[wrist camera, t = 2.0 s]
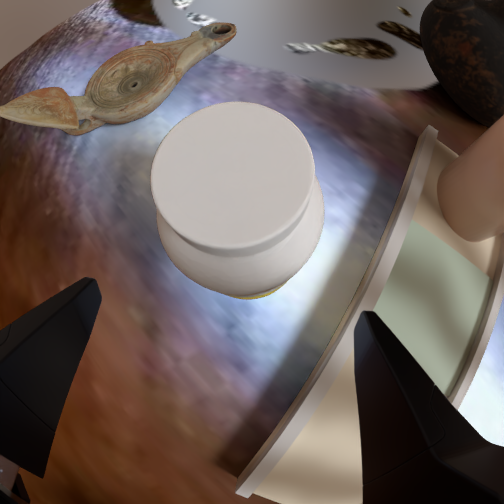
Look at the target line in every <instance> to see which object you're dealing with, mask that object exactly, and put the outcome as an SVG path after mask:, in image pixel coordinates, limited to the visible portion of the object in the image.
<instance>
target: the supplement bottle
mask: <svg viewBox="0 0 504 504" xmlns="http://www.w3.org/2000/svg"><path fill="white" fill-rule="evenodd" d="M150 184H151V192H152V196H153V199H154V202H155V205H156V207H157V226H158V232H159V236H160V239H161V242H162V244H163V247H164V249H165V251H166V253H167V254H168V256H169V258H170V259H171V260H172V262H173V263H174V264H175V266H176V267H177V268H178V269H179V270H180V271H181V272H182V273H183V274H185V275H186V276H187V277H188V278H190V279H191V280H193V281H194V282H196V283H197V284H199V285H201V286H203V287H205V288H208V289H210V290H213V291H216V292H219V293H222V294H225V295H228V296H230V297H234V298H238V299H257V298H262V297H265V296H268V295H270V294H272V293H274V292H275V291H277V290H278V289H279V288H281V287H282V286H283V285H284V284H285V283H286V282H287V281H288V280H289V279H290V278H291V277H293V276H294V275H295V274H296V273H297V272H298V271H299V270H300V269H301V268H302V267H303V266H304V264H305V263H306V262H307V261H308V259H309V258H310V257H311V255H312V253H313V252H314V250H315V248H316V246H317V244H318V242H319V239H320V236H321V233H322V229H323V224H324V200H323V195H322V191H321V187H320V184H319V182H318V180H317V177H316V175H315V165H314V159H313V155H312V151H311V148H310V146H309V144H308V142H307V140H306V138H305V137H304V135H303V134H302V132H301V131H300V130H299V128H298V127H297V126H296V125H295V124H294V123H293V122H292V121H290V120H289V119H288V118H286V117H285V116H284V115H282V114H280V113H279V112H277V111H275V110H273V109H270V108H268V107H265V106H262V105H260V104H255V103H248V102H226V103H219V104H215V105H211V106H208V107H205V108H203V109H200V110H198V111H196V112H194V113H192V114H191V115H189V116H187V117H185V118H184V119H183V120H181V121H180V122H179V123H178V124H176V125H175V126H174V127H173V128H172V129H171V130H170V131H169V133H168V134H167V135H166V136H165V138H164V139H163V140H162V142H161V144H160V145H159V147H158V149H157V152H156V154H155V156H154V159H153V163H152V167H151V175H150Z"/></svg>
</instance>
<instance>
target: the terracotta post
mask: <svg viewBox="0 0 504 504" xmlns="http://www.w3.org/2000/svg"><path fill="white" fill-rule="evenodd" d="M437 197H438V202H439V205H440V209H441V211H442V214H443V216H444V218H445V219H446V221H447V223H448V224H449V226H450V227H451V228H452V230H453V231H454V232H455V233H456V234H457V235H458V236H460V237H461V238H463V239H464V240H466V241H469V242H481V241H483V240H486V239H488V238H491V237H494V236H496V235H499V234H501V233H504V115H503V116H502V117H501V118H500V119H499V120H498V121H496V122H495V123H494V124H493V125H492V126H491V127H490V128H489V129H488V130H487V131H486V132H485V133H484V134H482V135H481V136H480V137H479V138H478V139H477V140H476V141H475V142H474V143H473V144H471V145H470V146H469V147H468V148H467V149H466V150H465V151H464V152H462V153H461V154H460V155H459V156H458V157H457V158H456V159H454V160H453V161H452V162H451V163H450V164H449V165H448V166H446V167H445V168H444V169H443V170H442V171H441V173H440V175H439V177H438V181H437Z"/></svg>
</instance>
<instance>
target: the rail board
mask: <svg viewBox="0 0 504 504" xmlns="http://www.w3.org/2000/svg"><path fill="white" fill-rule="evenodd" d="M437 134H438V131H437V130H436V129H434V128H433V127H431V126H430V125H428V127H427V128H426V129H425V130H424V131H423V133H422V134H421V135H420V136H419V137H418V141H417V144H416V147H415V150H414V153H413V156H412V159H411V162H410V165H409V168H408V171H407V174H406V176H405V179H404V182H403V185H402V187H401V190H400V193H399V195H398V198H397V201H396V203H395V206H394V208H393V211H392V213H391V216H390V218H389V221H388V223H387V226H386V228H385V230H384V233H383V235H382V237H381V240H380V242H379V244H378V247H377V249H376V251H375V253H374V255H373V258H372V260H371V262H370V264H369V266H368V269H367V271H366V273H365V275H364V277H363V279H362V281H361V283H360V285H359V287H358V289H357V291H356V293H355V295H354V297H353V299H352V301H351V303H350V305H349V307H348V309H347V311H346V313H345V315H344V317H343V318H342V320H341V322H340V324H339V326H338V328H337V330H336V331H335V333H334V335H333V337H332V339H331V340H330V342H329V344H328V346H327V347H326V349H325V351H324V353H323V354H322V356H321V358H320V359H319V361H318V363H317V364H316V366H315V368H314V369H313V371H312V373H311V374H310V376H309V378H308V379H307V381H306V382H305V384H304V386H303V387H302V389H301V390H300V392H299V393H298V395H297V397H296V398H295V400H294V401H293V403H292V404H291V406H290V407H289V409H288V410H287V412H286V413H285V415H284V416H283V418H282V419H281V420H280V422H279V423H278V425H277V426H276V428H275V429H274V430H273V432H272V433H271V435H270V436H269V437H268V439H267V440H266V442H265V443H264V444H263V446H262V447H261V448H260V450H259V451H258V452H257V454H256V455H255V456H254V458H253V459H252V460H251V461H250V463H249V464H248V465H247V467H246V468H245V469H244V470H243V472H242V473H241V474H240V475H239V477H238V478H237V484H236V491H235V493H236V494H239V495H241V496H243V497H246V498H249V496H250V495H251V494H252V493H254V494H257V495H259V496H262V497H264V498H267V499H270V500H273V501H275V502H278V503H281V504H363V492H362V486H363V485H362V458H361V441H360V427H359V415H358V405H357V395H356V386H355V376H354V328H355V325H356V323H357V321H358V318H359V316H360V314H361V312H362V311H364V310H366V311H374V312H376V313H377V315H378V316H379V317H380V318H381V319H382V320H383V322H384V323H385V324H386V325H387V326H388V327H389V328H390V330H391V331H392V332H393V333H394V334H395V335H396V337H397V338H398V339H399V340H400V341H401V343H402V344H403V345H404V346H405V347H406V349H407V350H408V351H409V352H410V353H411V355H412V356H413V357H414V358H415V359H416V361H417V362H418V363H419V364H420V365H421V367H422V368H423V369H424V370H425V372H426V373H427V374H428V375H429V377H430V378H431V379H432V380H433V382H434V383H435V385H437V386H438V388H439V389H440V390H441V392H442V393H443V394H444V395H445V396H446V398H447V399H448V400H449V401H450V403H451V404H452V405H453V406H454V407H455V408H456V409H457V410H458V408H459V406H460V405H461V403H462V401H463V399H464V397H465V395H466V393H467V391H468V389H469V387H470V385H471V382H472V380H473V378H474V376H475V374H476V371H477V369H478V367H479V365H480V362H481V360H482V357H483V355H484V352H485V350H486V347H487V345H488V342H489V339H490V336H491V334H492V331H493V328H494V325H495V322H496V319H497V315H498V312H499V309H500V305H501V302H502V298H503V295H504V233H501V234H499V235H496V236H494V237H491V238H488V239H486V240H483V241H481V242H469V241H466V240H464V239H463V238H461V237H460V236H458V235H457V234H456V233H455V232H454V231H453V230H452V228H451V227H450V226H449V224H448V223H447V221H446V219H445V218H444V216H443V214H442V211H441V209H440V205H439V202H438V197H437V181H438V177H439V175H440V173H441V171H442V170H443V169H444V168H445V167H446V166H448V165H449V164H450V163H451V162H452V161H453V160H454V159H456V158H457V157H458V156H459V155H457V154H456V153H455V152H453V151H452V150H451V149H449V148H448V147H447V146H445V145H444V144H442V143H441V142H440V141H438V140H437V139H436V138H437Z"/></svg>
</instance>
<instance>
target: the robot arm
mask: <svg viewBox="0 0 504 504" xmlns="http://www.w3.org/2000/svg"><path fill="white" fill-rule="evenodd" d="M101 301H102V296H101V293H100V290H99V287H98V284H97V281H96V280H95V279H94V278H89V277H84V278H82V279H81V280H79V281H77V282H76V283H74V284H72V285H71V286H69V287H67V288H66V289H64V290H63V291H61V292H59V293H58V294H56V295H54V296H53V297H51V298H50V299H48V300H46V301H45V302H43V303H42V304H40V305H38V306H37V307H35V308H34V309H32V310H31V311H29V312H27V313H26V314H24V315H23V316H21V317H20V318H18V319H17V320H15V321H14V322H12V324H9V325H8V326H6V327H5V328H3V329H2V330H0V504H30V499H29V496H28V494H27V491H26V489H25V486H24V484H23V481H22V478H21V475H20V474H19V473H18V471H19V468H20V467H21V468H23V469H25V470H27V471H29V472H31V473H32V474H34V475H36V476H38V477H40V478H42V479H43V477H44V474H45V470H46V465H47V461H48V457H49V454H50V450H51V446H52V443H53V439H54V436H55V432H56V428H57V425H58V422H59V419H60V416H61V412H62V409H63V406H64V403H65V400H66V398H67V395H68V392H69V389H70V386H71V383H72V381H73V378H74V375H75V373H76V370H77V368H78V365H79V362H80V360H81V357H82V355H83V352H84V350H85V348H86V345H87V343H88V340H89V338H90V335H91V332H92V329H93V326H94V322H95V319H96V316H97V313H98V310H99V307H100V304H101ZM354 376H355V386H356V395H357V405H358V415H359V427H360V441H361V458H362V485H363V486H362V492H363V504H504V447H503V446H499V445H495V444H492V443H490V442H488V441H487V440H485V439H484V438H483V437H482V436H481V435H480V434H479V433H478V432H477V431H476V430H475V429H474V428H473V427H472V426H471V424H470V423H469V422H468V421H467V420H466V419H465V418H464V417H463V416H462V415H461V414H460V413H459V412H458V410H457V409H456V408H455V407H454V406H453V405H452V404H451V403H450V401H449V400H448V399H447V398H446V396H445V395H444V394H443V393H442V392H441V390H440V389H439V388H438V386H437V385H435V383H434V382H433V380H432V379H431V378H430V377H429V375H428V374H427V373H426V372H425V370H424V369H423V368H422V367H421V365H420V364H419V363H418V362H417V361H416V359H415V358H414V357H413V356H412V355H411V353H410V352H409V351H408V350H407V349H406V347H405V346H404V345H403V344H402V343H401V341H400V340H399V339H398V338H397V337H396V335H395V334H394V333H393V332H392V331H391V330H390V328H389V327H388V326H387V325H386V324H385V323H384V322H383V320H382V319H381V318H380V317H379V316H378V315H377V313H376V312H374V311H366V310H364V311H362V312H361V314H360V316H359V318H358V321H357V323H356V325H355V328H354Z"/></svg>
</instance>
